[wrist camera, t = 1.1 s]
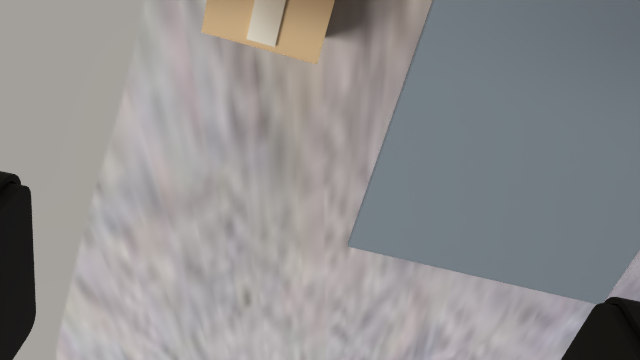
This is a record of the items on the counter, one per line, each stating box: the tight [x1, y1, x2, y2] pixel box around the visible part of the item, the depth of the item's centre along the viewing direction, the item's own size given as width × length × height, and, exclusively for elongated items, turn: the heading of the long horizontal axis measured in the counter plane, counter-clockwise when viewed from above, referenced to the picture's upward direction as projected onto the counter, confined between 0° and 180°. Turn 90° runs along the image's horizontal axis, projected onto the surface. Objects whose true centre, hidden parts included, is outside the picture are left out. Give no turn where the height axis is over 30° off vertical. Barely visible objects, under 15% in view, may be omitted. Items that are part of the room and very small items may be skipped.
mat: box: [348, 0, 640, 304], centre depth 29 cm, size 22×16×1 cm
